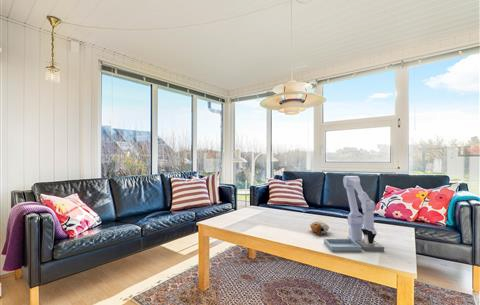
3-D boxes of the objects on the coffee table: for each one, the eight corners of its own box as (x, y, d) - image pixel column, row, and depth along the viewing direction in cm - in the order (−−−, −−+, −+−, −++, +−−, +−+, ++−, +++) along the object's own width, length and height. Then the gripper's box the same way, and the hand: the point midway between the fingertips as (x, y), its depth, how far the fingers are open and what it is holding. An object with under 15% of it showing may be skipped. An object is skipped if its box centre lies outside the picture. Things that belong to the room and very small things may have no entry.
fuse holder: (355, 243, 157) (355, 240, 157) (373, 244, 157) (373, 240, 157) (364, 251, 145) (364, 246, 145) (384, 251, 145) (384, 247, 145)
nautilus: (323, 239, 167) (302, 236, 176) (332, 230, 184) (313, 228, 193) (322, 228, 167) (301, 225, 176) (331, 220, 184) (313, 218, 193)
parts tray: (323, 243, 159) (323, 238, 159) (351, 243, 158) (351, 238, 158) (331, 251, 145) (331, 246, 145) (361, 251, 144) (361, 246, 144)
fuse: (364, 245, 153) (364, 234, 153) (370, 245, 153) (370, 234, 153) (367, 247, 149) (367, 236, 149) (373, 247, 149) (373, 236, 149)
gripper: (356, 217, 159) (357, 238, 158) (368, 223, 144) (368, 246, 144) (367, 217, 158) (368, 238, 158) (379, 223, 144) (380, 246, 144)
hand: (368, 242), depth 151 cm, fingers closed on fuse, 4 cm apart
